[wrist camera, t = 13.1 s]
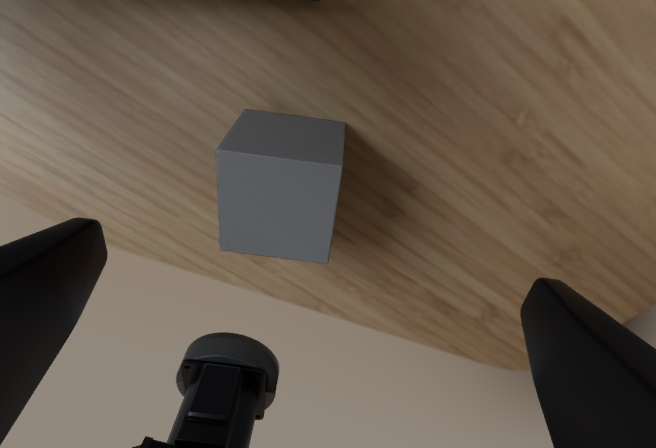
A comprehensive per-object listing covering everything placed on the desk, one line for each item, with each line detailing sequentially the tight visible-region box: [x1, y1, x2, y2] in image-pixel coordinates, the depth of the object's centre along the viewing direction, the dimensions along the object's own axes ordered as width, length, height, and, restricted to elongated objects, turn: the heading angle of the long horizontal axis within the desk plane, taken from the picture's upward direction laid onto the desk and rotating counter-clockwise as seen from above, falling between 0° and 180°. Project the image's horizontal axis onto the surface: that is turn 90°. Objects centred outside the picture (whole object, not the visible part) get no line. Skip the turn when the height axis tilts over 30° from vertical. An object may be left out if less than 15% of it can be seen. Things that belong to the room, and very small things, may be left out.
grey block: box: [216, 109, 346, 264], centre depth 19 cm, size 5×5×5 cm
